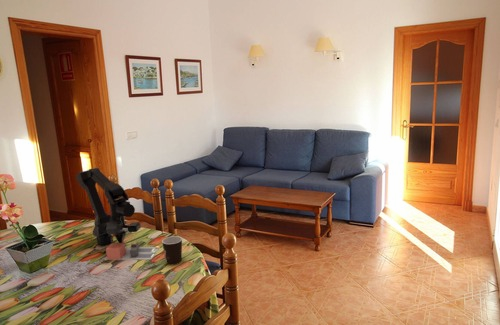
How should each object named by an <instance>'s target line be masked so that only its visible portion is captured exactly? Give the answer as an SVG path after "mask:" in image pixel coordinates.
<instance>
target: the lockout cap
mask: <svg viewBox="0 0 500 325" xmlns="http://www.w3.org/2000/svg"><path fill="white" fill-rule="evenodd" d="M125 247H126V243H125V242H123V243H119V242H113V243H111V244H110V245H107V247H106V248H105V253H106V257H107V259H121V258H122V257H123V256H124V255H125V254H126V248H125Z"/></svg>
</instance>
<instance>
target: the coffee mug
mask: <svg viewBox="0 0 500 325" xmlns="http://www.w3.org/2000/svg"><path fill="white" fill-rule="evenodd" d="M161 243H162V248H163V252H164V255H165V256H164V257H165V261H166V264H168V265H172V264H173V265H177V263H178V264H180V263H181V262H182V257H183V256H182V254H183V237H181V236H180V235H179V236H178V235H173V236H168V237H165V238H163V239H162V240H161ZM179 262H180V263H179ZM173 265H172V266H173Z"/></svg>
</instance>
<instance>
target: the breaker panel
mask: <svg viewBox="0 0 500 325" xmlns="http://www.w3.org/2000/svg"><path fill="white" fill-rule="evenodd" d="M125 248H126V254H125V255H124V256H123V257H122V258H121V259H107V256H106V257H105V258H104V259H103V260H104V261H110V260H111V261H114V260H115V261H121V260H127V261H128V260H130V261H131V260H132V261H133V260H134V261H135V260H137V261H139V260H153V258H154V257H155V256H156V254H157V253H158V252H159V251H160V249H161V246H159V245H156V246H139V249H138V253H139V254H138V255H137V256H136V257H131V255H130V250H131V246H128V247H126V246H125Z"/></svg>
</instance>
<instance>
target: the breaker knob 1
mask: <svg viewBox="0 0 500 325" xmlns="http://www.w3.org/2000/svg"><path fill="white" fill-rule="evenodd" d="M130 247H131V249H132V248H137V247H138V249H139V247H140V243H139V241H133V242H132V243H131V244H130Z"/></svg>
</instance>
